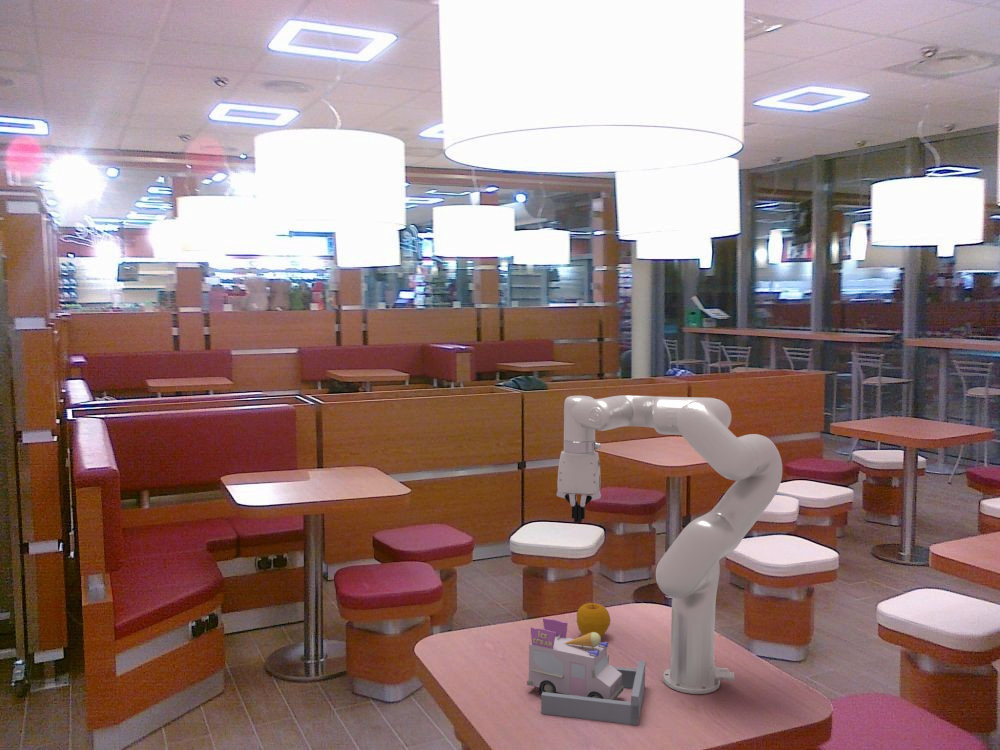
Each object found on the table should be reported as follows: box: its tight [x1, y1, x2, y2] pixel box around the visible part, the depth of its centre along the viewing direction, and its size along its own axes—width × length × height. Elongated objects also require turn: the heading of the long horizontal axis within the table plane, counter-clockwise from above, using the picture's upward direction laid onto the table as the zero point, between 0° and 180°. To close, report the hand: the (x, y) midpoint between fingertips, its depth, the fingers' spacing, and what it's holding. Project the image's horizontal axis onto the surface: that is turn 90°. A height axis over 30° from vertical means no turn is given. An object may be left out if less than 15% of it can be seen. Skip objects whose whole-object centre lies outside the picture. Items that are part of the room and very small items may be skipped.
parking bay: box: [540, 660, 646, 726], centre depth 188 cm, size 20×18×6 cm
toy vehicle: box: [526, 617, 625, 700], centre depth 189 cm, size 9×20×15 cm, turn 62°
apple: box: [576, 602, 611, 638], centre depth 222 cm, size 8×8×9 cm
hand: (578, 521), depth 212 cm, fingers closed
